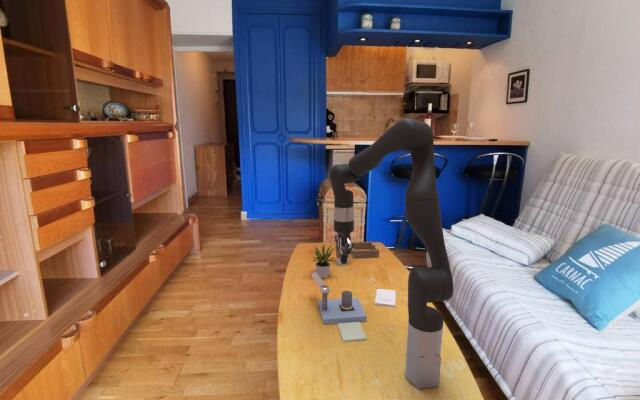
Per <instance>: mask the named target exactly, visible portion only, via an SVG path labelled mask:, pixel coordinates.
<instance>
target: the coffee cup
mask: <svg viewBox="0 0 640 400" xmlns="http://www.w3.org/2000/svg"><path fill="white" fill-rule="evenodd" d="M335 236H337V235H335ZM334 241H335V242H336V240H335V239H334ZM350 242H351V243H352V240H351V241H350ZM334 245H335V249H336V250H335V255H336V264H337V265H338V264H339V266H347V265H349V263H350V262H349V259H350V254H347V264H342V263H341V262H340V254H341V253H340V252H339V250H338V248H337V244H336V243H335V244H334Z"/></svg>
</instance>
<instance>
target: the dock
mask: <svg viewBox="0 0 640 400" xmlns="http://www.w3.org/2000/svg"><path fill="white" fill-rule="evenodd" d="M328 294H329V293H327V294H323V293H321V298H322V299H319V300H318V303H317V305H318V308H319V309H318V310H319V312H320V316H321V320H322V324H323V325H335V324H338V323H350V322H360V323H361V322H367V317H368V315H367V314H366V311H365V310H364V308H363V306H362V303H361V302H360V300H359V298H358V297H352V305H353V308H352V311H342V312H341V304H342V298H331V299H329V298H328Z"/></svg>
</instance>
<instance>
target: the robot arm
mask: <svg viewBox="0 0 640 400" xmlns="http://www.w3.org/2000/svg"><path fill="white" fill-rule="evenodd" d="M434 142H435V141H434V134H433V129H432V128H431V125H429V123H426V122H425V121H421V120H417V119H413V118H407V117H406V118H405V117H404V118H401V119H400V120H397V122H395V123H394V124H392V125H391V127H389V129H387V130H386V131H385V132H384V133H383V134H382V135H380V136H379V138H377V139H376V140H375V141H374V142H373V143H371V144H370V145H369V146H368V147H366V148H365V149H363V150H362V151H359V152H358V153H357V154H355V155H353V156H352V157H350V160H349V161H348V163H342V164H340V163H338V164H335V165H333V166H332V167H331V168H330V170H329V181H330V184H331V189H332V192H333V197H334V198H333V203H334V206H333V231H334V232H335V233H337V236H336V235H334V241H335V240H336V241H335V244H337V248H338V250H339V252H340V253H341V254H340V262H341V263H342V264H347V254H349V255H351V254H350V253H351V250H352V248H353V246H354V244H353V243H354V242H352V238H351V233H353V232H354V231H355V209H354V201H355V200H354V191H352V190H351V189H350V190H349V189H347V188H346V184H352V183H355V182H356V181H358V180H359V179H360V178H362V177H363V175H365V174H367V173H369V172H371V171H373V170H374V169H376V168H377V167H379V166H380V164H381V163H382V161H383V159H384V158H385V157H386V156H387V155H389V154H392V153H394V152H398V151H402V152H407V153H408V152H409V153H410V157H411V166H412V168H411V169H412V172H411V176H410V180H409V182H408V184H407V188H406V190H405V194H404V204H405V205H404V207H405V214H406V220H407V222H408V224H409V226H410V228H411V229H412V231H413V232H414V234H416V236H417V237H418V239H419V240H420V241H421V242H422V244H423V245H424V247H425V248H426V251H427V254H428V258H429V260H430V266H427V267H417V268H416V267H415V268H413V269H411V271H410V272H409V275H408V279H407V312H408V321H407V322H408V323H407V336H406V354H405V369H404V374H405V375H404V376H405V378H406V380H407V382H409V383H410V384H412V385H414V386H415V387H416V388H417V389H418V390H421V389H432V388H439V386H440V376H441V367H442V365H441V364H442V356H441V354H442V343H443V341H442V340H443V332H444V331H443V330H444V316H443V314H442V312H440V311H439V310H438V309H436V308H434V307H432V306H429V305H428V304H431V303H437V302H438V303H439V302H447V301H450V300H451V299H452V297H453V295H454V280H453V274H452V271H451V266H450V262H449V256H448V252H447V247H446V242H445V236H444V230H443V224H442V222H443V221H442V213H441V207H440V206H441V205H440V204H441V203H440V197H439V193H438V187H437V186H438V185H437V178H436V177H437V175H436V167H435V146H434V145H435V143H434ZM350 241H351V242H350ZM347 265H348V264H347Z"/></svg>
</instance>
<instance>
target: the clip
mask: <svg viewBox="0 0 640 400" xmlns="http://www.w3.org/2000/svg"><path fill="white" fill-rule="evenodd" d="M311 277H312V278H313V280H314V281H315V283H316V284H317V285H318V287H319V292H320V293H321V294H322V293H323V294H327V293H328V294H329V293H330V291H331V288H330V286H329V285H327V284H326V283H325V282H324V280H323V279H322V278H320V277H319V275H318V274H317V271H314V272H312V273H311Z"/></svg>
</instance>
